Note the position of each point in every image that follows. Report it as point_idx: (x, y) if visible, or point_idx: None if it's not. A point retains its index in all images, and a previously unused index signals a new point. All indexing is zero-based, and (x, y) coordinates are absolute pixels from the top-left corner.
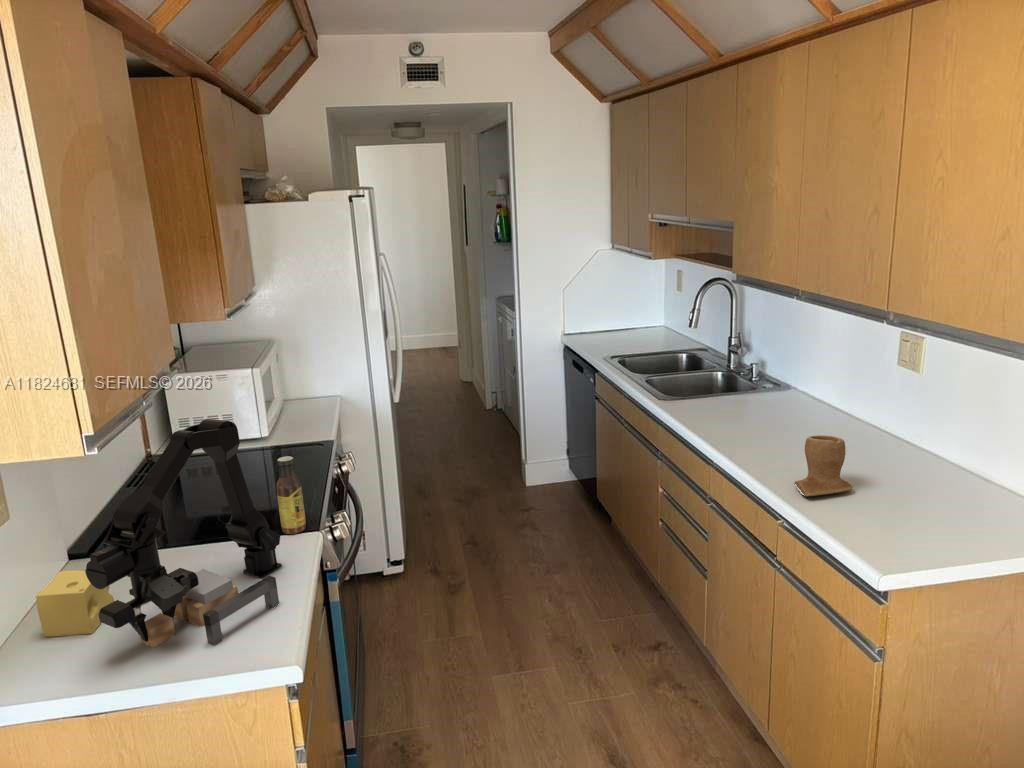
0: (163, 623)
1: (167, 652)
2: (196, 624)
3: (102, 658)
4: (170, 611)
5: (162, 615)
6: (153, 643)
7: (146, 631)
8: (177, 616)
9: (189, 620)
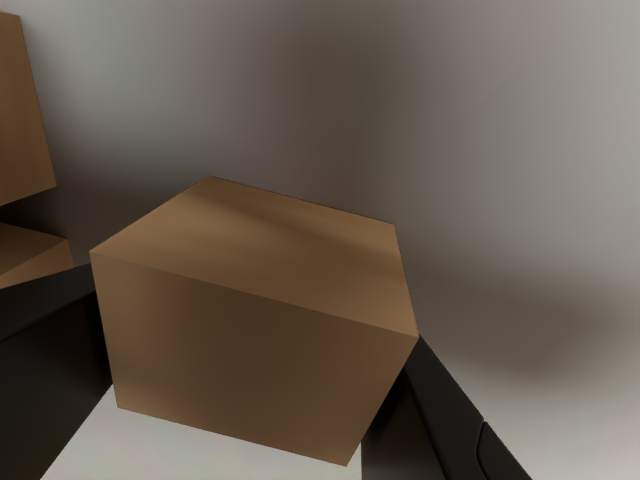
0: (230, 282)
1: (455, 42)
2: (31, 96)
3: (523, 419)
4: (8, 336)
5: (129, 372)
6: (393, 238)
7: (409, 362)
8: None
9: (39, 183)
